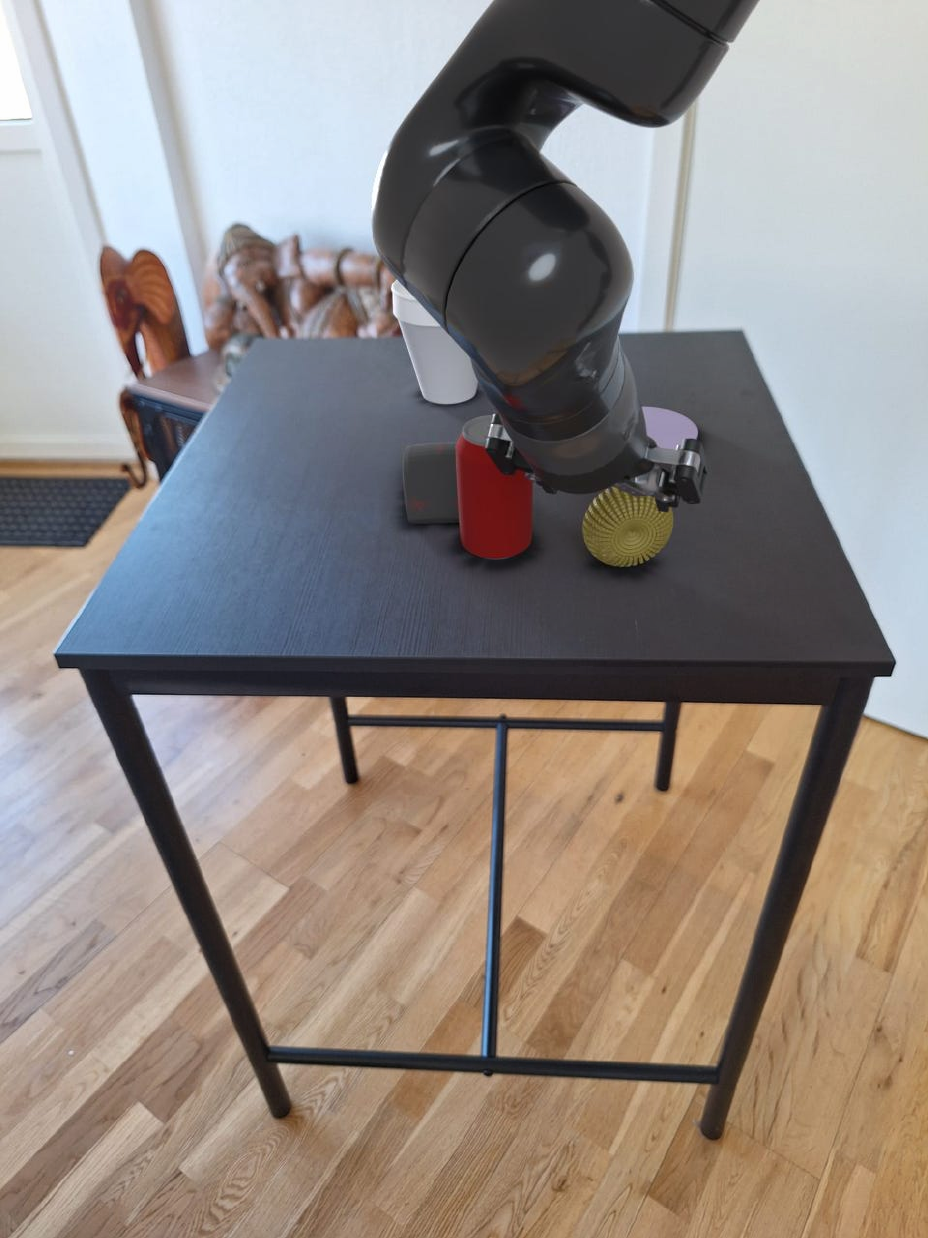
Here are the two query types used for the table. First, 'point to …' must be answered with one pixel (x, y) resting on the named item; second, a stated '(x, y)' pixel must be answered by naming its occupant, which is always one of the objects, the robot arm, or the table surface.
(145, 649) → the table surface
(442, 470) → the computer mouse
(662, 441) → the saucer
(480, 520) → the beverage can
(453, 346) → the cup
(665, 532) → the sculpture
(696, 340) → the table surface
